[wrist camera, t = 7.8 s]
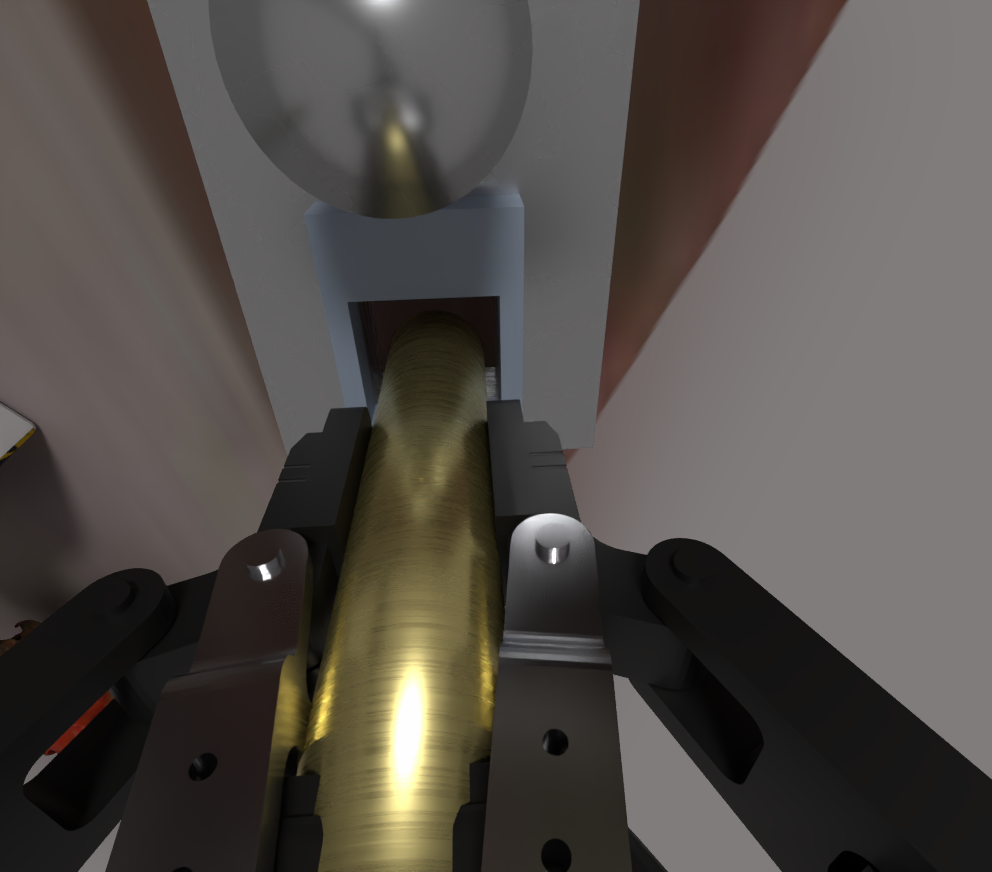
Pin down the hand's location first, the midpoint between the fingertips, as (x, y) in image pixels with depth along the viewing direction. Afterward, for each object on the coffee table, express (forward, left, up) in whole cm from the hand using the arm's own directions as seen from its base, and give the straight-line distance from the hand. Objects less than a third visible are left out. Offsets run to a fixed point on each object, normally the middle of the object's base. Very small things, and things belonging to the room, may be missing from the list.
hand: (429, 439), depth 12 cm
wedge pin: (0, 0, -4) cm, 4 cm away
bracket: (0, -2, -14) cm, 14 cm away
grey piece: (0, +3, -14) cm, 14 cm away
